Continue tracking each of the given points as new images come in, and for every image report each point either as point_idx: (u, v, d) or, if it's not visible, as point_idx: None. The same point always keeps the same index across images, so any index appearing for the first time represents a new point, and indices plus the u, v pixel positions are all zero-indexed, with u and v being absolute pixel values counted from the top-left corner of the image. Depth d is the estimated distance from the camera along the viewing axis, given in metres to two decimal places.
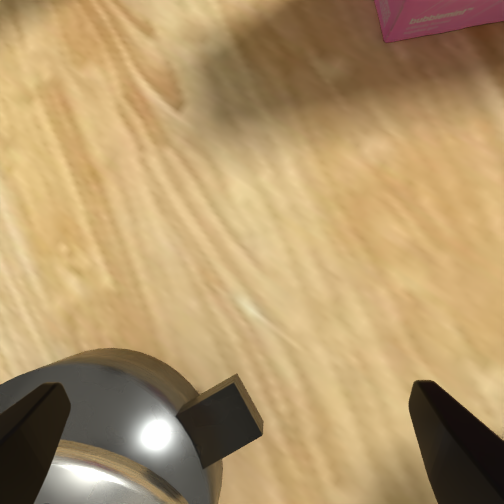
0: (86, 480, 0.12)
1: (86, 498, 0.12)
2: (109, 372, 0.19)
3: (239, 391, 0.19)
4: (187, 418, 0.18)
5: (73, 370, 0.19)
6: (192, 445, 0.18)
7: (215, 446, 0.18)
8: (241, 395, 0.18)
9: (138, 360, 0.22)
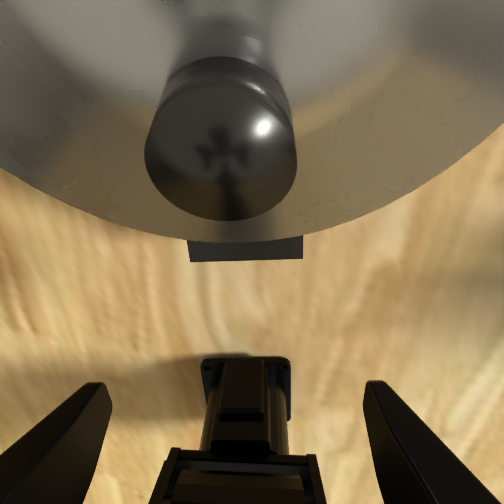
0: None
1: None
2: None
3: None
4: None
5: None
6: None
7: None
8: None
9: None
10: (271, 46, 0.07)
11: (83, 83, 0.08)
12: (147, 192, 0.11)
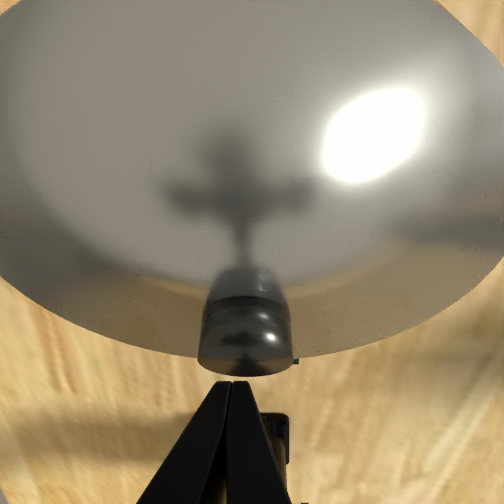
0: None
1: (484, 191, 0.08)
2: None
3: None
4: None
5: None
6: None
7: None
8: None
9: None
10: (277, 293, 0.12)
11: (156, 303, 0.13)
12: (188, 340, 0.16)
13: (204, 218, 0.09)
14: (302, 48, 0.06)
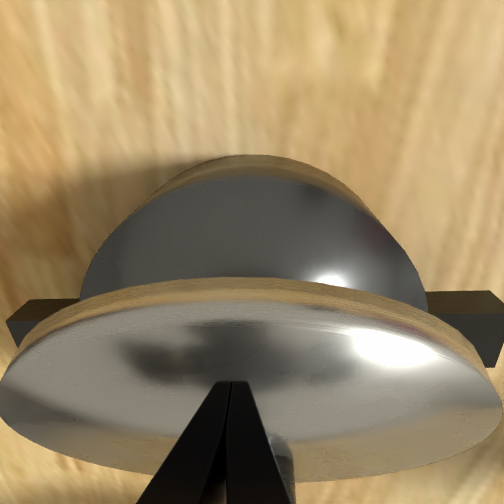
0: (490, 403, 0.09)
1: (460, 412, 0.09)
2: (391, 236, 0.13)
3: None
4: None
5: (348, 211, 0.12)
6: None
7: None
8: None
9: None
10: (281, 452, 0.13)
11: None
12: None
13: None
14: (303, 358, 0.07)
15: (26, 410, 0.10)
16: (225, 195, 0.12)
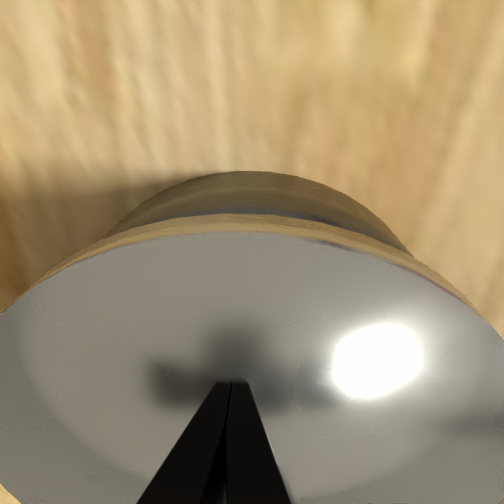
0: None
1: (486, 403, 0.08)
2: None
3: None
4: None
5: None
6: None
7: None
8: None
9: None
10: None
11: None
12: None
13: None
14: (303, 295, 0.07)
15: None
16: None
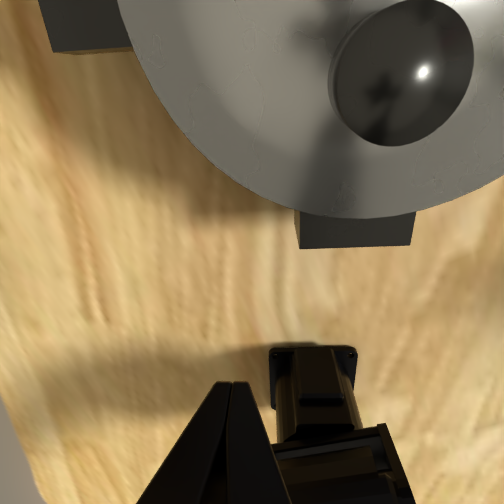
0: None
1: None
2: None
3: None
4: None
5: None
6: None
7: None
8: None
9: None
10: None
11: (279, 33, 0.10)
12: (293, 151, 0.12)
13: None
14: None
15: None
16: None
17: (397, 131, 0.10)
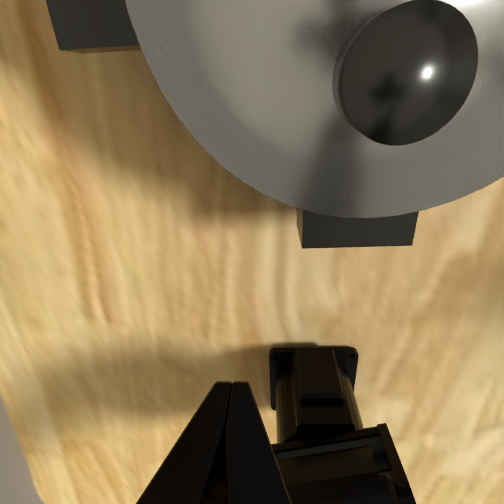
0: None
1: None
2: None
3: None
4: None
5: None
6: None
7: None
8: None
9: None
10: (442, 0, 0.10)
11: (284, 32, 0.10)
12: (297, 150, 0.12)
13: None
14: None
15: None
16: None
17: (401, 130, 0.10)
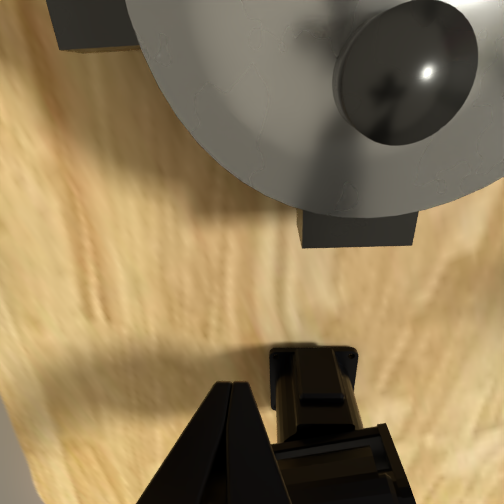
0: None
1: None
2: None
3: None
4: None
5: None
6: None
7: None
8: None
9: None
10: (442, 0, 0.10)
11: (284, 32, 0.10)
12: (297, 150, 0.12)
13: None
14: None
15: None
16: None
17: (401, 130, 0.10)
